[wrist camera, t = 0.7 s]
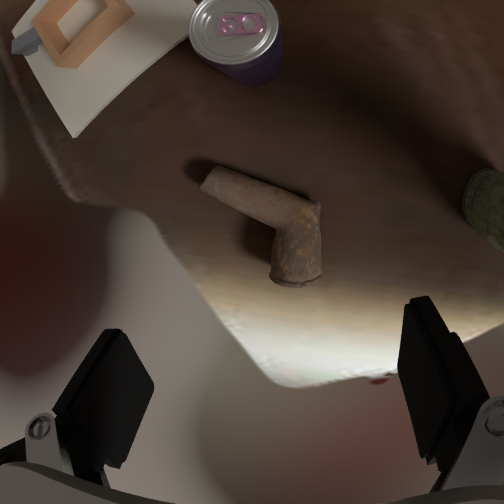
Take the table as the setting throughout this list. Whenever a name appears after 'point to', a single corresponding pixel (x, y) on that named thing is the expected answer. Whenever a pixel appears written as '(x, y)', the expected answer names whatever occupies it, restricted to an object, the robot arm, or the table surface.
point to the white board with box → (96, 48)
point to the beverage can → (239, 38)
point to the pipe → (275, 223)
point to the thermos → (486, 205)
